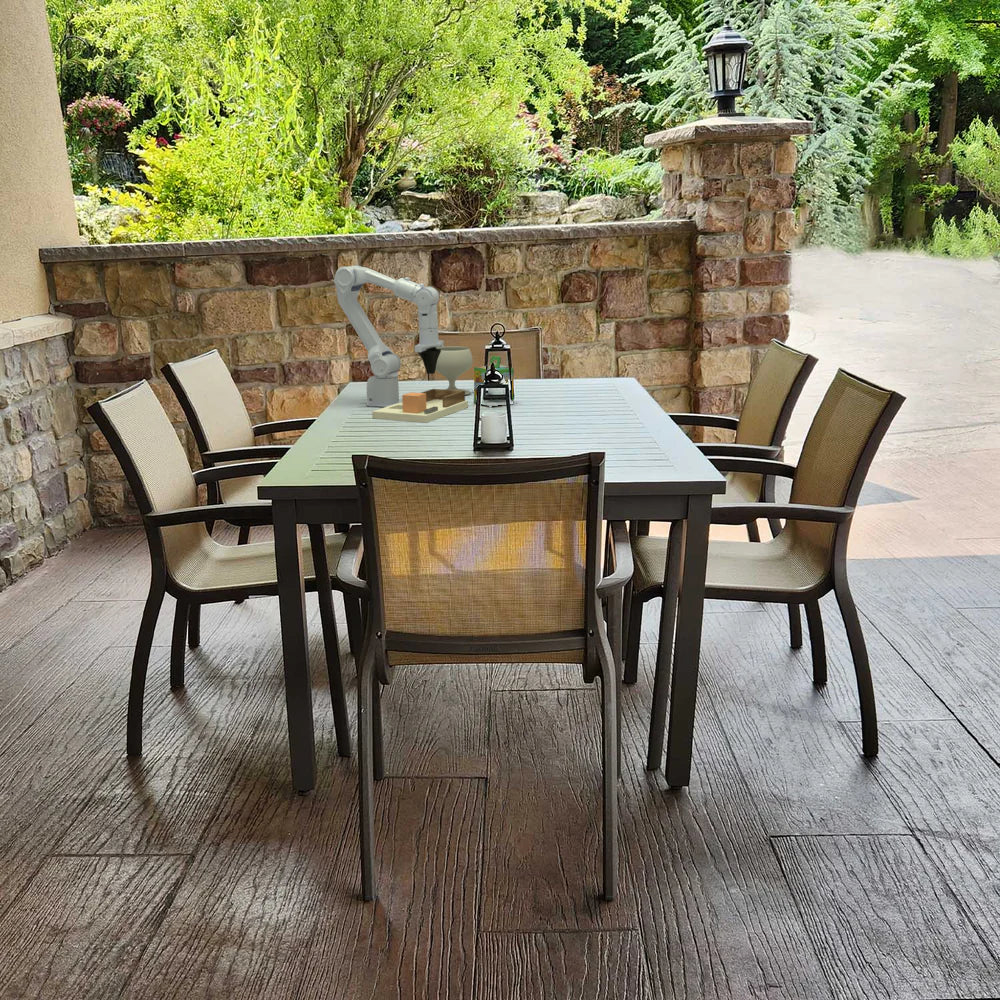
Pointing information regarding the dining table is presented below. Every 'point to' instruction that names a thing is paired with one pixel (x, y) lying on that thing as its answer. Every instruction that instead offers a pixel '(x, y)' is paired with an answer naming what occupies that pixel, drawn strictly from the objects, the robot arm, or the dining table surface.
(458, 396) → the cubby
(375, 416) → the deck
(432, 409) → the short rod
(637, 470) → the dining table surface
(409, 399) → the cube
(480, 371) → the chalk box
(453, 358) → the chalice
